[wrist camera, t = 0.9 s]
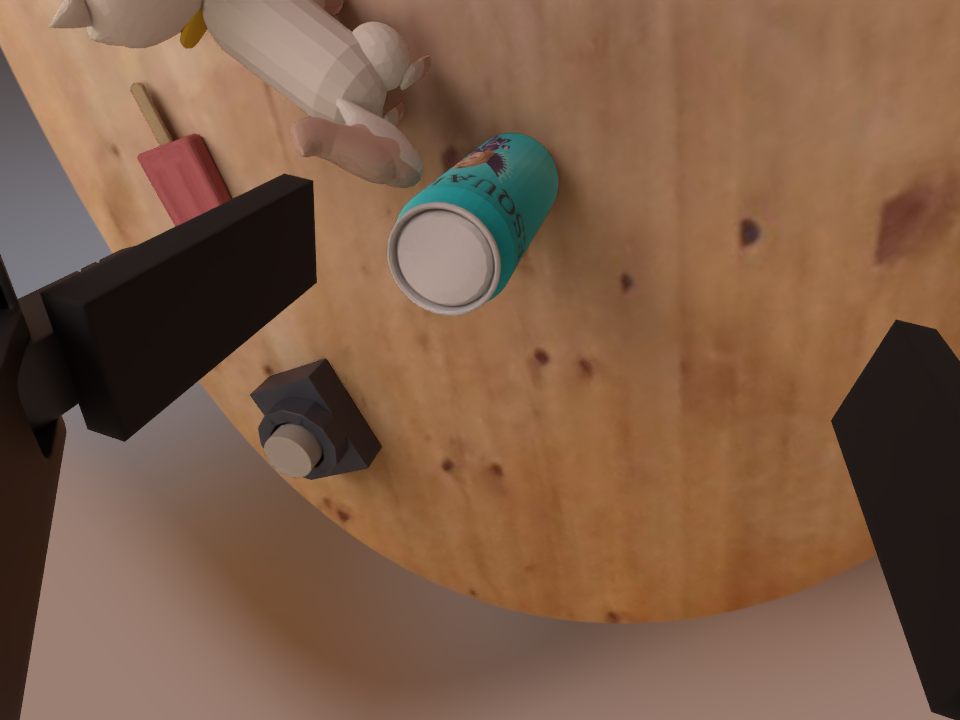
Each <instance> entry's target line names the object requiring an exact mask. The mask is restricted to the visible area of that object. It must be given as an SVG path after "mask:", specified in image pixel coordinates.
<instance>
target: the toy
mask: <svg viewBox="0 0 960 720" xmlns="http://www.w3.org/2000/svg"><path fill="white" fill-rule="evenodd" d="M343 1H344V0H65V1H64V2H63V3H62V4H61V6H60V8H59V9H58V11H57V12H56V14H55V16H54V18H53V20H52V22H51V23H50V26H49V27H50V28H81V27H87V33H88V35H89V37H90V39H91V40H94V41H96V42H101V43H104V44H108V45H116V46H125V47H128V48H146V47H150V46H154V45H157V44H159V43H161V42H163V41H165V40H168V39H170V38H172V37H173V36H175V35H176V34H178V33H179V32H181V37H180V42H181V44H182V45H183V46H184V47H185V48H193V47H194V46H195V45H196V44H197V43H198V42H199V40H200V39H201V38H202V36H203V35H204V33H205V32H206V30H207V29H208V31H209V32H210V33H211V35H212V36H213V38H214V39H215V40H216V42H217V43H218V44H219V46H220V47H221V48H222V50H224V51H225V52H226V53H228V54H229V55H230V56H232V57H233V58H234V59H236V60H237V61H238V62H240V63H241V64H242V65H244V66H245V67H246V68H248V69H249V70H250V71H252V72H253V73H254V74H255V75H257V76H258V77H259V78H261V79H262V80H263V81H265V82H266V83H267V84H269V85H270V86H271V87H273V88H274V89H275V90H277V91H278V92H279V93H281V94H282V95H283V96H285V97H286V98H287V99H288V100H290V101H291V102H292V103H294V104H295V105H296V106H298V107H299V108H300V109H302V110H303V111H304V112H306V113H307V114H308V115H310V116H311V117H308V118H304V119H300V120H298V121H296V122H295V123H294V124H293V125H292V126H291V129H290V135H291V138H292V140H293V143H294V145H295V148H296V150H297V152H298V153H299V154H300V155H301V156H303V157H310V156H317V157H320V158H323V159H326V160H328V161H330V162H332V163H334V164H336V165H337V166H339V167H341V168H343V169H345V170H346V171H348V172H350V173H352V174H354V175H356V176H358V177H360V178H362V179H365V180H367V181H370V182H373V183H378V184H386V185H389V186H393V187H399V188H408V187H411V186H414V185H415V184H416V183H417V182H418V181H419V180H421V177H422V174H423V171H424V167H423V162H422V159H421V157H420V155H419V154H418V152H417V151H416V149H415V148H414V147H413V145H412V144H411V143H410V142H409V141H408V139H407V138H406V136H405V135H404V134H403V133H402V132H401V131H400V130H399V129H398V128H396V127H395V126H396V125H397V124H398V123H399V122H400V120H401V119H402V117H403V114H404V108H405V106H404V103H402V102H401V103H399V104H397V105H396V106H395V107H394V108H392V109H391V110H390V111H388V112H387V113H386V114H385V115H383V106H384V104H385V99H386V94H387V91H390V90H393V89H395V88H397V87H398V86H399V85H400V88H401V90H404V89H406V88H408V87H409V86H410V85H412V84H413V83H415V82H416V81H417V80H419V79H420V78H422V77H423V76H424V75H425V73H426V72H427V71H428V68H429V65H430V61H431V58H430V56H429V55H425V56H424V57H422V58H420V59H419V60H417V61H415V62H414V63H412V64H410V56H409V50H408V47H407V45H406V43H405V41H404V39H403V38H402V37H401V35H400V34H399V33H398V32H396V31H395V30H394V29H393V28H392V27H390V26H389V25H386V24H383V23H379V22H367V23H364V24H360V25H359V26H358V27H357V28H356V29H354V30H353V32H352V31H350V30H349V29H348V28H346V27H345V26H344V25H343V24H341V23H340V22H339V21H338V20H336V19H335V18H334V17H332V16H331V15H335V14H337V13H338V12H339V11H340V10H341V8H342V6H343Z"/></svg>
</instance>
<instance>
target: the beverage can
mask: <svg viewBox="0 0 960 720" xmlns="http://www.w3.org/2000/svg"><path fill="white" fill-rule="evenodd" d="M558 182H559V181H558V172H557V168H556V165H555V163H554V160H553V158H552V157H551V155H550V154H549V152H548V151H547V150H546V149H545V147H544V146H542V145H541V144H540V143H539V142H538V141H536V140H534V139H533V138H531V137H528V136H526V135H522V134H518V133H506V134H500V135H497V136H494V137H492V138H490V139H488V140H487V141H486V142H484V143H483V144H482V145H480V146H479V147H478V148H477V149H475V150H474V151H473V152H471V153H470V154H469V155H468V156H466V157H465V158H464V159H462V160H461V161H460V162H458V163H457V164H456V165H455V166H453V167H452V168H451V169H449V170H448V171H447V172H446V173H444V174H443V175H442V176H440V177H439V178H438V179H436V180H435V181H434V182H433V183H431V184H430V185H429V186H427V187H426V188H425V189H424V190H422V191H421V192H420V193H418V194H417V195H416V196H414V197H413V198H412V199H411V200H410V201H409V202H408V203H407V204H406V205H405V206H404V208H403V209H402V211H401V212H400V214H399V217H398V219H397V221H396V223H395V225H394V226H393V228H392V231H391V233H390V236H389V240H388V245H387V257H388V264H389V267H390V271H391V273H392V276H393V278H394V280H395V282H396V283H397V285H398V287H399V288H400V289H401V290H402V292H403V293H404V294H405V295H406V296H407V297H408V298H409V299H410V300H411V301H413V302H414V303H415V304H417V305H418V306H420V307H422V308H423V309H425V310H428V311H430V312H433V313H436V314H440V315H447V316H456V315H462V314H467V313H469V312H472V311H474V310H476V309H478V308H479V307H481V306H482V305H483V304H485V303H486V302H487V301H489V300H491V299H493V298H494V297H495V296H496V295H498V294H499V293H500V292H501V291H502V289H503V288H504V287H505V286H506V284H507V282H508V281H509V279H510V277H511V275H512V274H513V272H514V270H515V269H516V267H517V265H518V263H519V262H520V260H521V258H522V257H523V255H524V253H525V251H526V250H527V248H528V246H529V245H530V243H531V241H532V239H533V238H534V236H535V234H536V233H537V231H538V229H539V227H540V226H541V224H542V222H543V221H544V219H545V217H546V216H547V214H548V212H549V210H550V209H551V207H552V205H553V204H554V201H555V199H556V196H557V191H558Z"/></svg>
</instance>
